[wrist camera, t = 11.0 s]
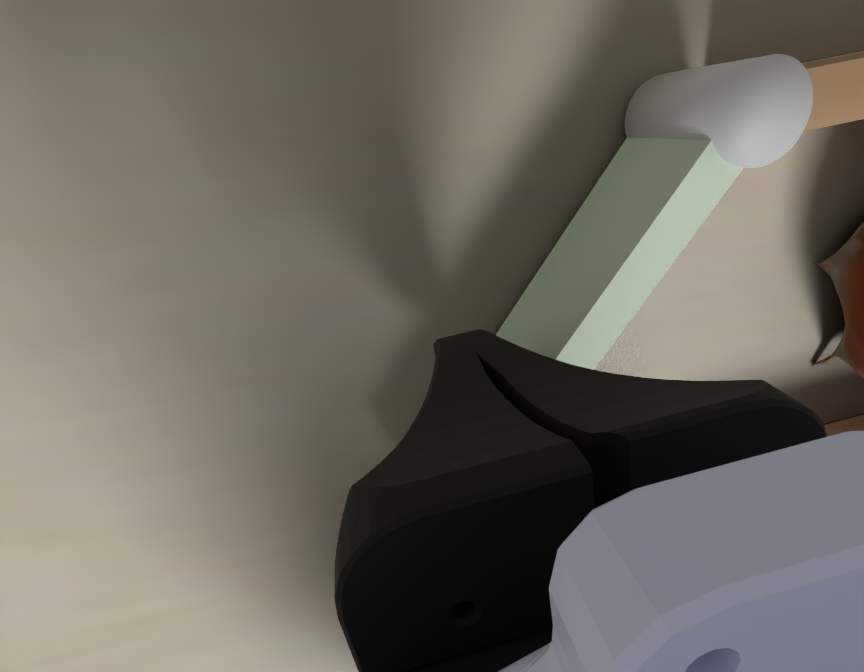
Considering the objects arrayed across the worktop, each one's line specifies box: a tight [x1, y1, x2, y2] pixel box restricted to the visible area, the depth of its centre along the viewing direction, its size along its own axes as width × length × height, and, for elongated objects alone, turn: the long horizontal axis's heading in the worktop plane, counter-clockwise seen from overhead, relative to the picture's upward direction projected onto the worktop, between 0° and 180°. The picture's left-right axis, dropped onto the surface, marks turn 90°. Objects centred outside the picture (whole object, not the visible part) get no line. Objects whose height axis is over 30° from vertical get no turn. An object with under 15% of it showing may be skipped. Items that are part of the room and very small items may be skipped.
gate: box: [496, 54, 813, 370], centre depth 12 cm, size 13×2×3 cm, turn 149°
